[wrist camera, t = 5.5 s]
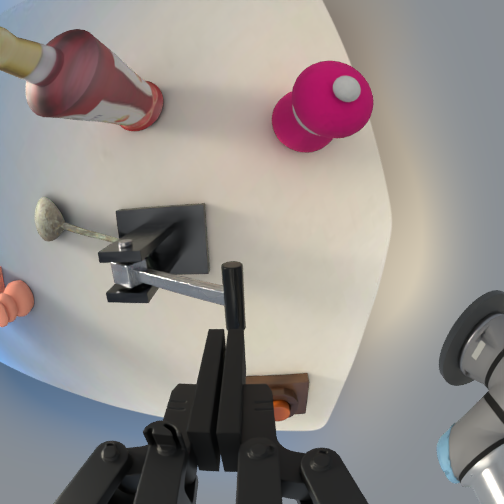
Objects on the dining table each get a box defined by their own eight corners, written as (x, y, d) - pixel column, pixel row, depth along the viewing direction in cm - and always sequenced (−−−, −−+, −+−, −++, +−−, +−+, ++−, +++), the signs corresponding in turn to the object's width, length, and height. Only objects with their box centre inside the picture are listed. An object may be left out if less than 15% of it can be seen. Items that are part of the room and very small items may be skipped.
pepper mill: (288, 164, 35) (332, 163, 16) (258, 115, 33) (267, 59, 14) (336, 137, 34) (420, 116, 15) (307, 89, 32) (363, 22, 13)
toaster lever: (250, 260, 20) (231, 271, 18) (252, 322, 22) (235, 338, 20) (126, 241, 27) (107, 247, 25) (134, 288, 29) (116, 296, 27)
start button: (289, 398, 42) (290, 406, 40) (288, 413, 43) (289, 420, 41) (266, 400, 42) (267, 407, 40) (266, 414, 43) (267, 421, 41)
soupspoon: (40, 191, 36) (39, 230, 38) (26, 195, 33) (25, 236, 35) (156, 225, 35) (150, 271, 38) (144, 232, 32) (139, 282, 34)
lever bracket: (205, 203, 36) (179, 225, 23) (209, 270, 39) (191, 322, 26) (119, 209, 37) (62, 233, 23) (128, 272, 39) (82, 318, 26)
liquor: (175, 86, 32) (44, -27, 5) (156, 139, 34) (-18, 111, 7) (127, 78, 31) (-25, -2, 4) (109, 127, 33) (-68, 108, 6)
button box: (307, 372, 44) (311, 388, 41) (303, 405, 47) (306, 420, 43) (245, 376, 44) (245, 392, 41) (247, 408, 47) (247, 424, 43)
